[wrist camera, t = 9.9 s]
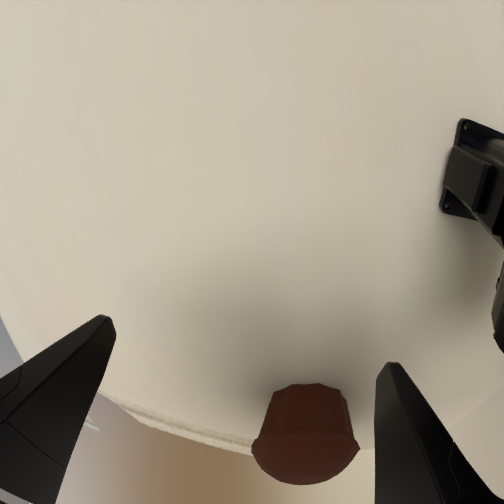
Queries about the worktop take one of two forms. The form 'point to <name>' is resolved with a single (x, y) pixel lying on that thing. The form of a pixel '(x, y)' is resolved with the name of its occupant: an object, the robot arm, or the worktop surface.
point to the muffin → (305, 435)
